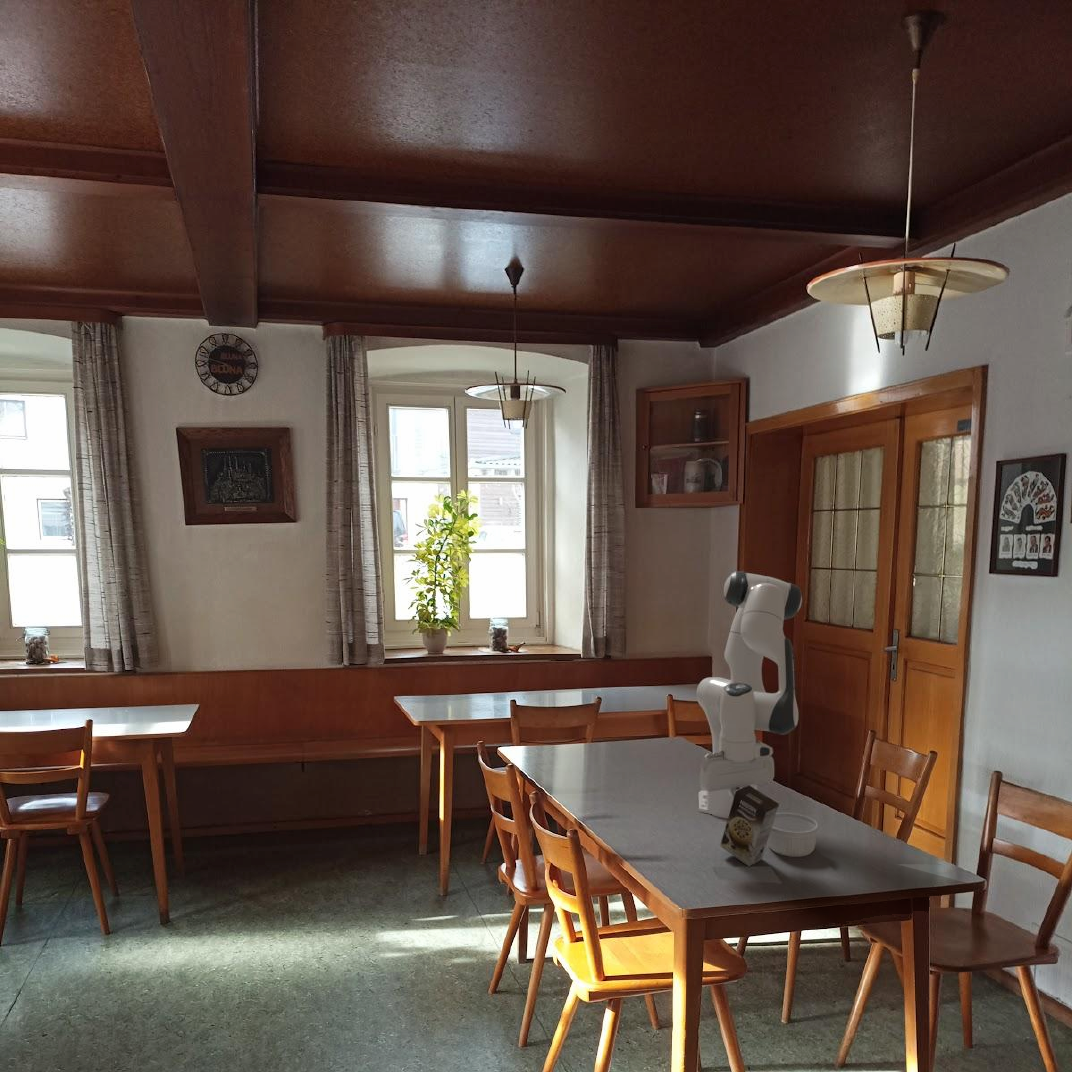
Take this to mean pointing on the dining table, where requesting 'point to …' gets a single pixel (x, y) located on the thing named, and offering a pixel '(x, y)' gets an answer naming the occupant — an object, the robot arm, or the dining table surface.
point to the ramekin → (793, 834)
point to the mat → (747, 874)
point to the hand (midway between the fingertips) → (736, 802)
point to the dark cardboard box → (749, 825)
